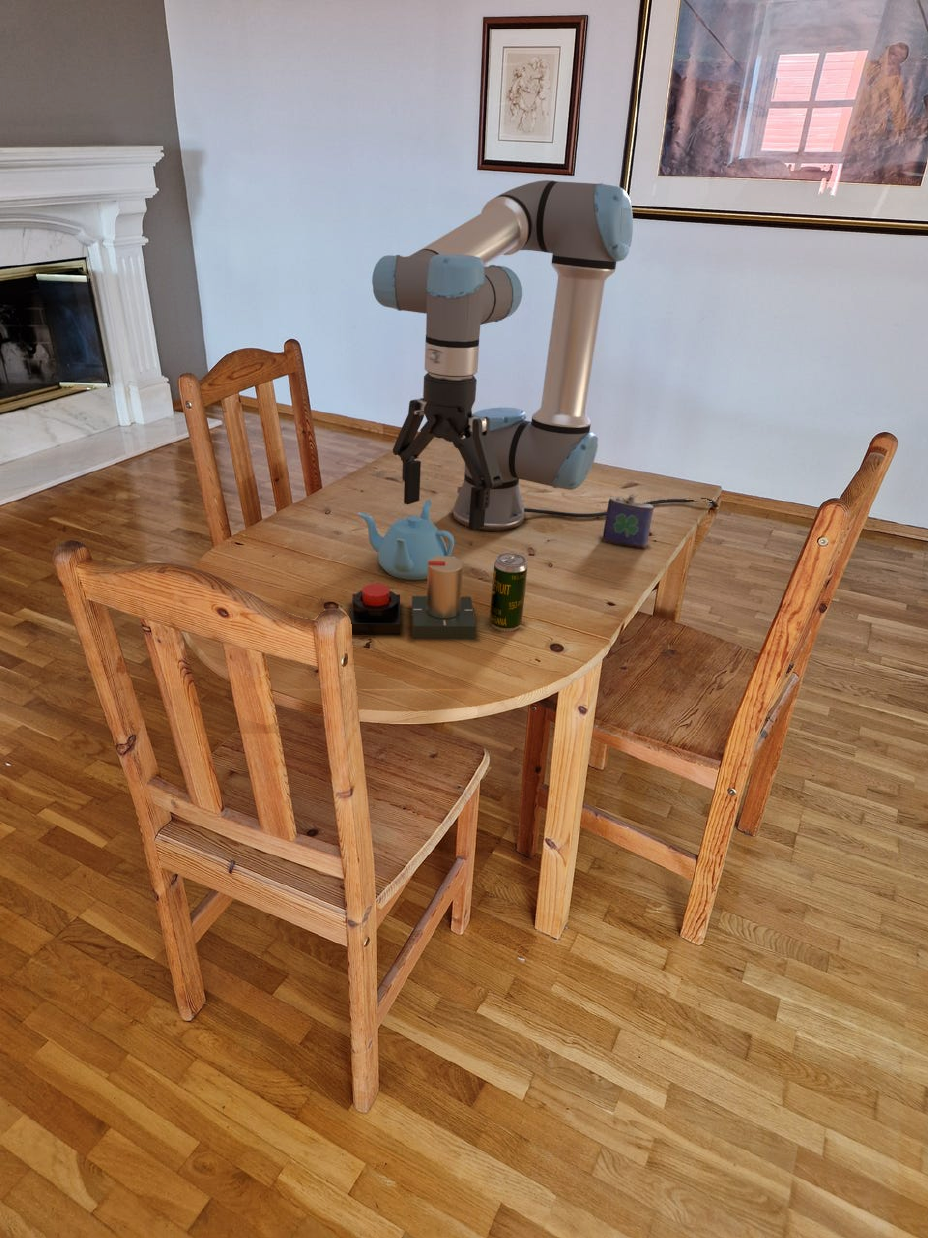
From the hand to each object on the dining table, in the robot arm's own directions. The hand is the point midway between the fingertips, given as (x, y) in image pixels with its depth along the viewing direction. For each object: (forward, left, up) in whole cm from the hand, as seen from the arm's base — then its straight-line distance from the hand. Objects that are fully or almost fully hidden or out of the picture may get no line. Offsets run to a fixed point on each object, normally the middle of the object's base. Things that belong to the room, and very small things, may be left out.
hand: (443, 514), depth 125 cm
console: (-1, 0, -19) cm, 19 cm away
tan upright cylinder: (-1, 0, -17) cm, 17 cm away
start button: (+10, -1, -16) cm, 19 cm away
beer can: (-11, 0, -19) cm, 22 cm away
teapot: (+5, -21, -19) cm, 29 cm away
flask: (-40, -34, -19) cm, 56 cm away
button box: (+10, -1, -19) cm, 22 cm away
